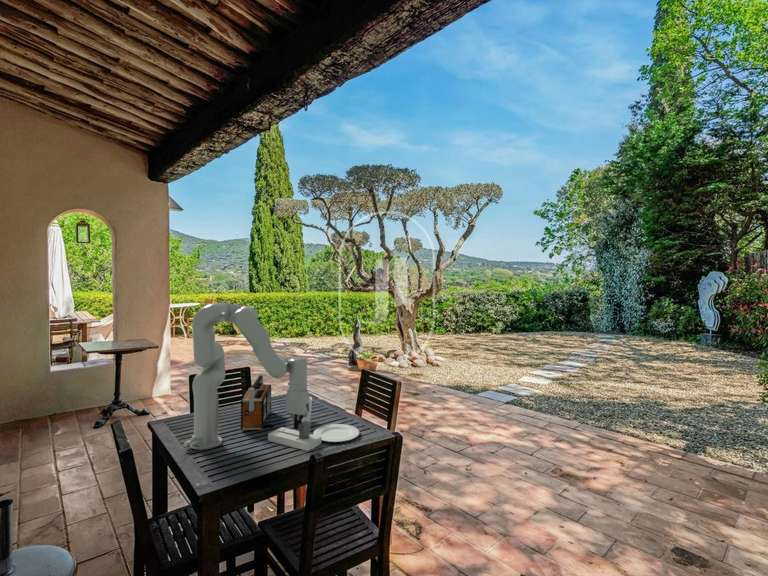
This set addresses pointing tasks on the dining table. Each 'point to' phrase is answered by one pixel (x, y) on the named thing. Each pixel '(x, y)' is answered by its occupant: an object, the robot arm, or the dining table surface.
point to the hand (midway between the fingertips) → (297, 428)
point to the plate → (337, 433)
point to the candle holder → (308, 412)
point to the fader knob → (304, 429)
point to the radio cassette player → (256, 405)
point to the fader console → (294, 439)
